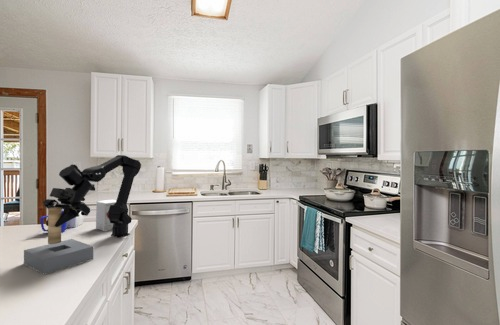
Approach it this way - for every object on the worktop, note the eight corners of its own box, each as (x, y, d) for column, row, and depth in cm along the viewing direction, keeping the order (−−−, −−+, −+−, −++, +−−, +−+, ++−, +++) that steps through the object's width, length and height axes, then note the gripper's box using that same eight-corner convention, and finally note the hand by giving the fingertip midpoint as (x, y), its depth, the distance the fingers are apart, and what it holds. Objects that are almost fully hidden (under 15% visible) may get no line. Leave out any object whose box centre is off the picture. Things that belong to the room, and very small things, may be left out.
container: (69, 223, 151) (69, 201, 151) (83, 223, 152) (83, 201, 151) (60, 227, 143) (61, 203, 143) (75, 227, 144) (75, 203, 144)
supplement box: (104, 231, 138) (104, 203, 137) (95, 228, 142) (95, 201, 142) (120, 227, 145) (121, 201, 145) (111, 225, 150) (112, 199, 150)
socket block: (71, 250, 110) (71, 238, 109) (93, 259, 102) (93, 246, 101) (23, 263, 96) (23, 250, 96) (44, 274, 88) (44, 259, 88)
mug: (35, 234, 129) (35, 214, 129) (61, 228, 141) (61, 210, 140) (46, 236, 126) (46, 216, 126) (71, 230, 138) (71, 211, 137)
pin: (52, 240, 101) (52, 207, 101) (63, 240, 101) (63, 207, 101) (45, 244, 97) (45, 209, 97) (56, 244, 97) (57, 209, 97)
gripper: (47, 178, 105) (15, 211, 94) (84, 181, 100) (55, 216, 90) (65, 195, 113) (38, 227, 102) (100, 198, 108) (76, 232, 97)
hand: (51, 225), depth 98 cm, fingers closed on pin, 4 cm apart
